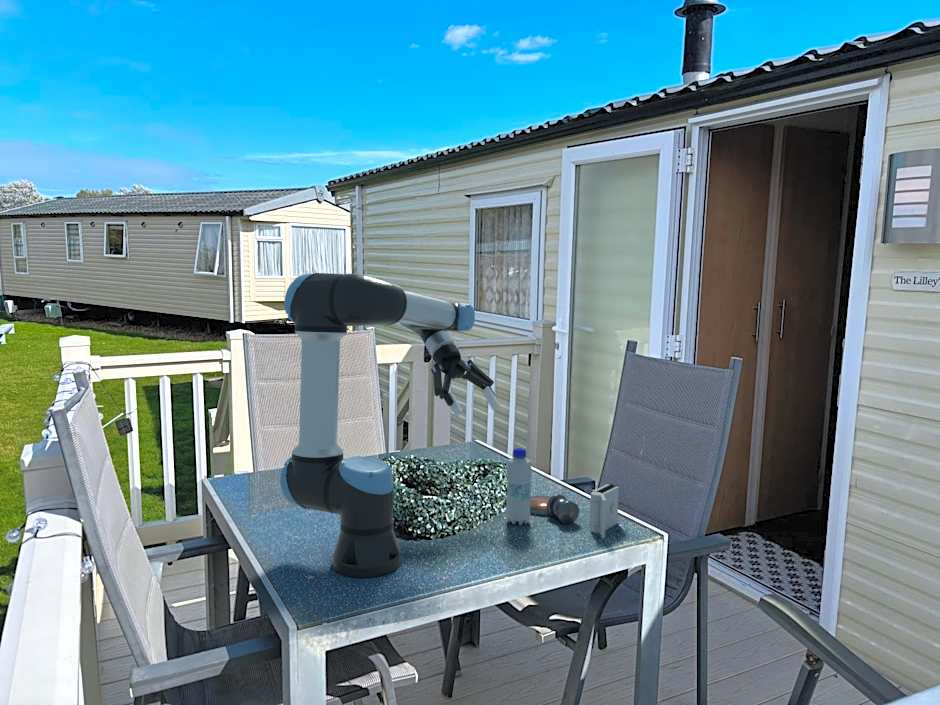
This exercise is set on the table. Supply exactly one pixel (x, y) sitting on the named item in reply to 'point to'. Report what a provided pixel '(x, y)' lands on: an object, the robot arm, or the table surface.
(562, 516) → the fitting
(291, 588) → the table surface
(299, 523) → the table surface
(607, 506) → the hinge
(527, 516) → the bottle
